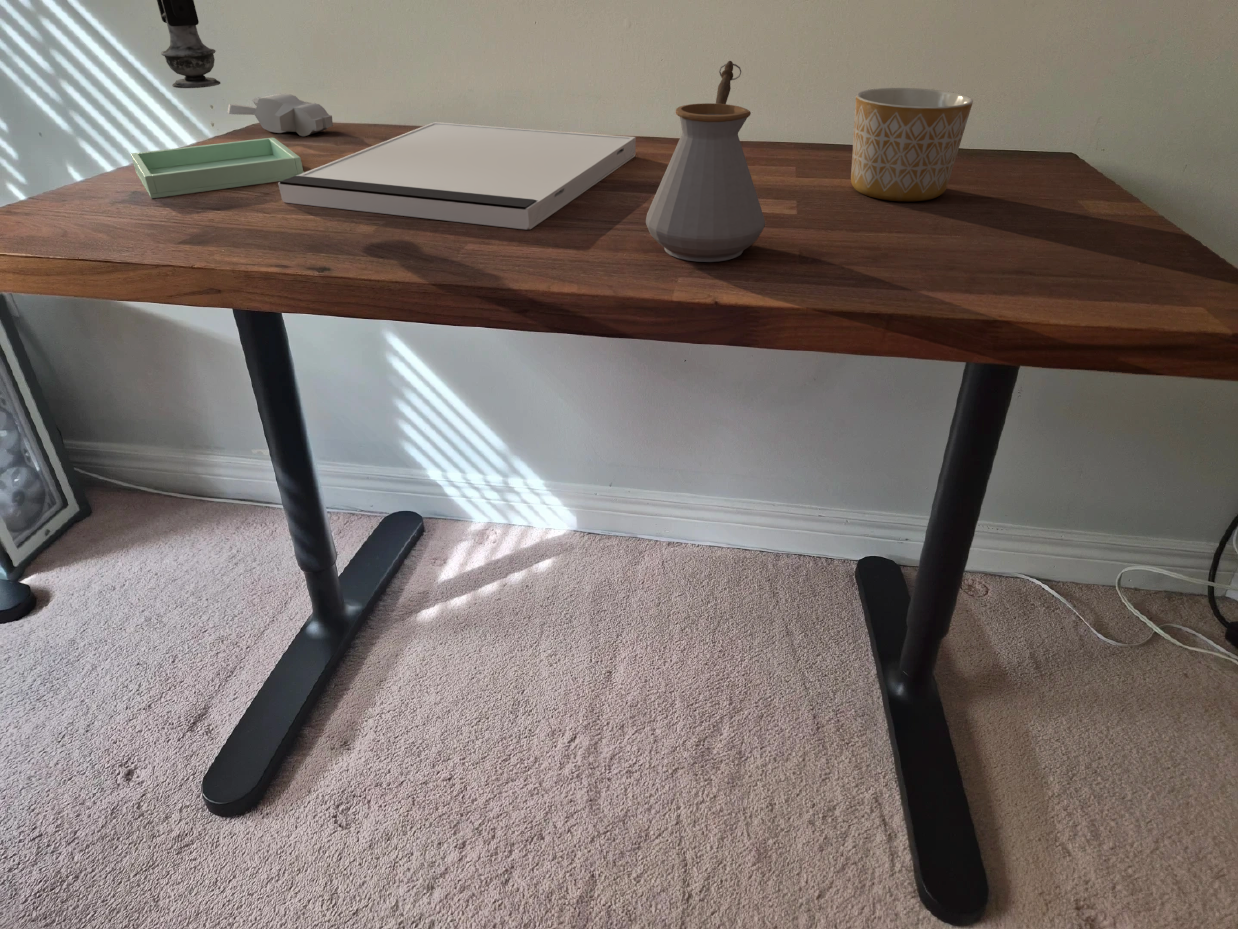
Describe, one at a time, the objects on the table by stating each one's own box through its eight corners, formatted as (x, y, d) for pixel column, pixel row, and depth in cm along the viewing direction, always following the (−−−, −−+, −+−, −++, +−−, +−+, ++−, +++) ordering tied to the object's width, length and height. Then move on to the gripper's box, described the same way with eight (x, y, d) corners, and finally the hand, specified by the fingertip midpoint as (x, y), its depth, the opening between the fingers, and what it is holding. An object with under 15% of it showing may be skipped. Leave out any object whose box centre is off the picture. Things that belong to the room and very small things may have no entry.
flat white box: (527, 206, 85) (277, 180, 94) (529, 230, 87) (282, 202, 95) (635, 136, 113) (434, 121, 121) (635, 155, 114) (436, 139, 123)
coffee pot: (757, 273, 76) (774, 96, 68) (634, 264, 78) (636, 91, 70) (772, 208, 93) (787, 61, 85) (671, 202, 95) (676, 57, 87)
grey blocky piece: (301, 111, 120) (217, 92, 123) (305, 148, 122) (223, 127, 126) (342, 100, 127) (262, 82, 131) (345, 135, 130) (266, 116, 133)
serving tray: (151, 198, 96) (144, 176, 95) (136, 173, 106) (130, 153, 105) (304, 177, 104) (300, 157, 103) (278, 156, 114) (273, 137, 113)
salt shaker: (233, 83, 100) (206, -33, 94) (188, 90, 96) (156, -31, 89) (204, 79, 103) (176, -34, 96) (159, 85, 99) (127, -32, 92)
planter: (964, 186, 101) (985, 93, 95) (935, 212, 92) (955, 111, 86) (863, 172, 107) (877, 84, 101) (826, 194, 98) (839, 99, 92)
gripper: (82, -172, 90) (135, 19, 100) (96, -186, 78) (155, 32, 88) (158, -169, 93) (202, 16, 103) (182, -182, 82) (229, 28, 92)
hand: (180, 21), depth 96 cm, fingers closed on salt shaker, 3 cm apart
